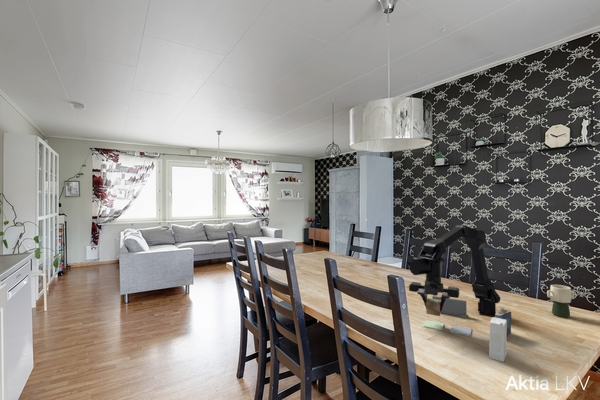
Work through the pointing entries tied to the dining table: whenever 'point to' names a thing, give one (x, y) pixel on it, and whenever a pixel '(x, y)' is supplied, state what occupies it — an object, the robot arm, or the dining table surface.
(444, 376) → the dining table surface
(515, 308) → the dining table surface
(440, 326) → the green pad
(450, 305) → the screen
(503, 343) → the skincare box
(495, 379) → the dining table surface
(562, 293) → the character mug
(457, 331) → the slate pad
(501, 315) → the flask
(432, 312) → the letter cube
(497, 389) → the dining table surface
